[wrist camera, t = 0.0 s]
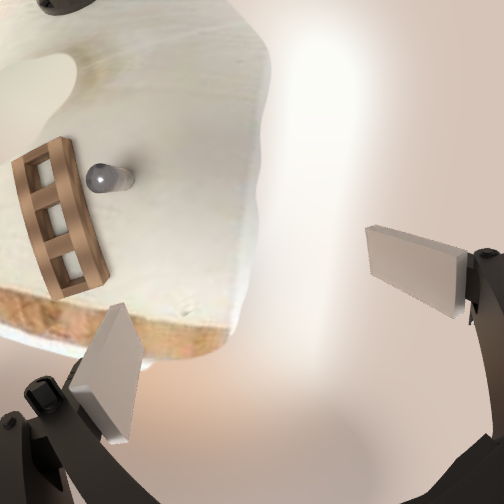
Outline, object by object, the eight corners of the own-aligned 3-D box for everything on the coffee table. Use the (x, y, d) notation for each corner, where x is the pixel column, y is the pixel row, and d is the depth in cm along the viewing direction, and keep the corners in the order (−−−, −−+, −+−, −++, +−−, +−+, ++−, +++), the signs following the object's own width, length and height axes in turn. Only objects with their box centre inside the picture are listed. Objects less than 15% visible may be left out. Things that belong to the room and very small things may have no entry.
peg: (111, 173, 37) (83, 169, 25) (131, 166, 37) (108, 159, 26) (117, 193, 37) (90, 197, 26) (136, 186, 38) (116, 187, 26)
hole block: (24, 163, 33) (11, 162, 29) (71, 140, 34) (60, 136, 30) (62, 291, 38) (52, 301, 34) (110, 276, 40) (103, 285, 36)
